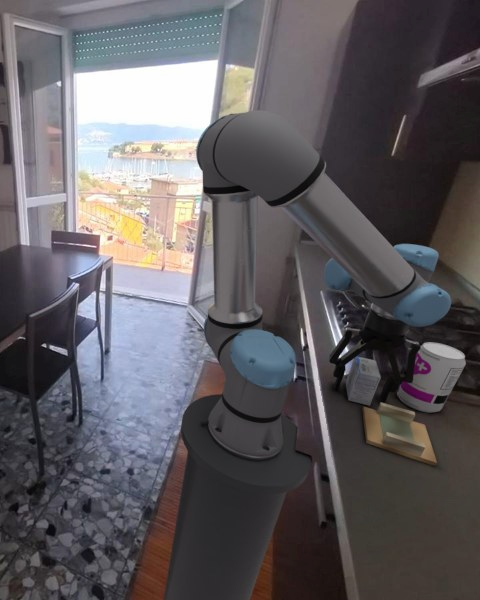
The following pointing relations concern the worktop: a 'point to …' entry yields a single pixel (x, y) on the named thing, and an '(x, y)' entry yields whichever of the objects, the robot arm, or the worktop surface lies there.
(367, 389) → the medicine box
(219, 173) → the robot arm
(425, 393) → the supplement can
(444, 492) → the worktop surface
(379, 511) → the worktop surface
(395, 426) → the mount pad
